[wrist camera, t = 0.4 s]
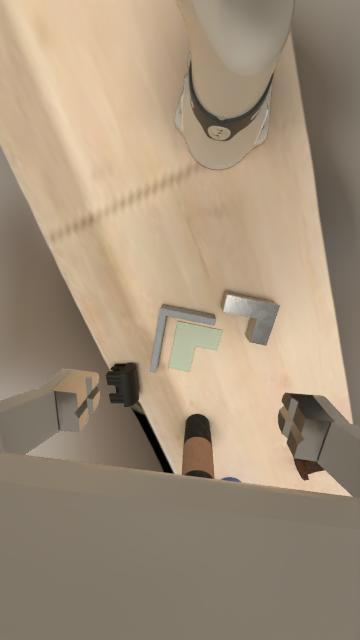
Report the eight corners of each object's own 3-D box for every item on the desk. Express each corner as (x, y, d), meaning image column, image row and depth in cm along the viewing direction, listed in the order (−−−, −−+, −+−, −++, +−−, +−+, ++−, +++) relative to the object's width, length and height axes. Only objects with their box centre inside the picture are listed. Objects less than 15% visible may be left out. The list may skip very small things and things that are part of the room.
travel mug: (201, 409, 63) (203, 476, 43) (215, 427, 64) (222, 499, 45) (180, 420, 64) (173, 489, 45) (194, 437, 66) (193, 511, 47)
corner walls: (162, 304, 54) (160, 308, 50) (214, 314, 54) (215, 319, 50) (152, 364, 59) (149, 371, 56) (199, 373, 59) (200, 381, 55)
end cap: (142, 392, 63) (135, 407, 56) (118, 391, 63) (110, 407, 57) (138, 361, 60) (131, 374, 53) (114, 361, 60) (104, 374, 54)
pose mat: (177, 321, 55) (177, 321, 55) (222, 330, 55) (222, 330, 55) (168, 367, 59) (168, 367, 59) (210, 375, 59) (210, 376, 59)
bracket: (224, 291, 52) (227, 294, 47) (272, 301, 52) (279, 305, 47) (215, 328, 55) (216, 335, 50) (260, 337, 55) (266, 345, 50)
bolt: (341, 448, 65) (292, 459, 67) (345, 444, 62) (293, 455, 64) (355, 471, 61) (302, 481, 63) (360, 468, 58) (304, 479, 59)
